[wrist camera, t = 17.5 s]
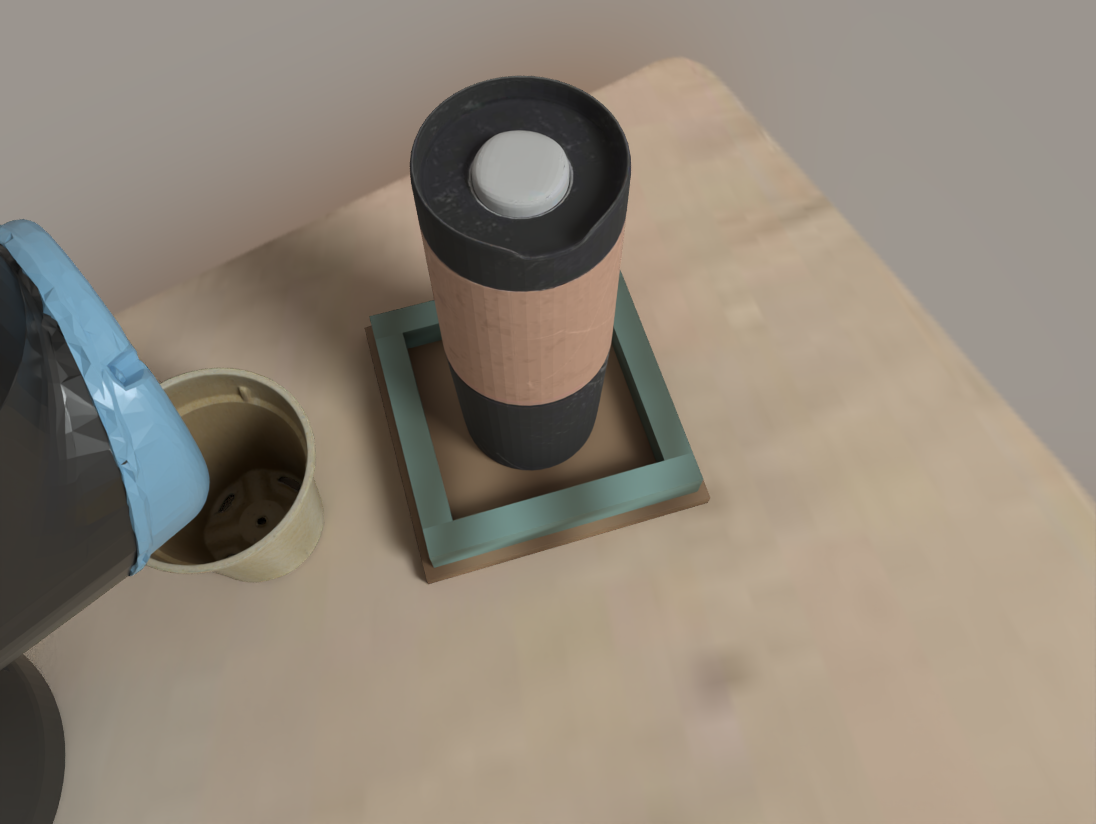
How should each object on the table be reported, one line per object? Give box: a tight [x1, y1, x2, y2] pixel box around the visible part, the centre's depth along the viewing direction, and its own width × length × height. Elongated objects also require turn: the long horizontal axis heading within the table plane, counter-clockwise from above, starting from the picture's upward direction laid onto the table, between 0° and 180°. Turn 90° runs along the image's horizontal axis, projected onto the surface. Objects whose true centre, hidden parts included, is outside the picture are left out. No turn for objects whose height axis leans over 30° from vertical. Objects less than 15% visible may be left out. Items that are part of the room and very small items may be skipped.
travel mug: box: [410, 76, 631, 471], centre depth 38 cm, size 8×8×20 cm
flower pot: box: [146, 368, 324, 583], centre depth 42 cm, size 9×9×9 cm
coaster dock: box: [365, 271, 710, 584], centre depth 47 cm, size 15×15×3 cm
